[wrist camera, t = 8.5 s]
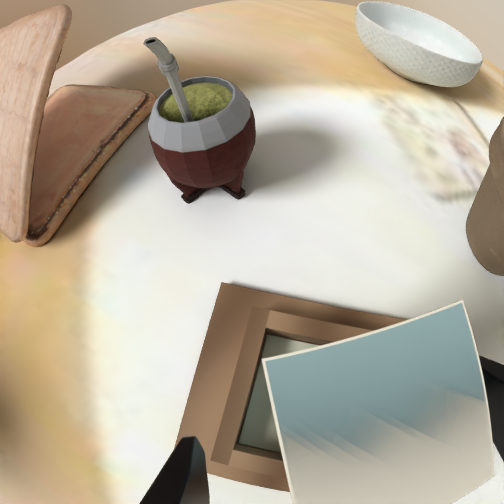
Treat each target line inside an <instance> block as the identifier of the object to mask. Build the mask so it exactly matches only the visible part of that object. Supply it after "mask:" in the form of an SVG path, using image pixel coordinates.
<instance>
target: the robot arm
mask: <svg viewBox="0 0 504 504" xmlns="http://www.w3.org/2000/svg"><path fill="white" fill-rule="evenodd" d="M479 359H480V364H481V368H482V373H483V378H484V383H485V389H486V394H487V400H488V407H489V414H490V422H491V431H492V441H493V443H494V444H495V446H496V448H497V450H498V452H499V454H500V456H501V458H502V459H503V461H504V365H503V364H500V363H497V362H495V361H492V360H489V359H487V358H484V357H482V356H479ZM209 503H210V501H209V487H208V478H207V469H206V459H205V452H204V449H203V447H202V446H201V444H200V442H199V440H198V439H197V437H196V436H184V437H182V438H181V439H180V441H179V442H178V444H177V445H176V447H175V449H174V450H173V452H172V454H171V455H170V457H169V458H168V460H167V462H166V463H165V465H164V466H163V468H162V469H161V471H160V473H159V474H158V476H157V477H156V479H155V480H154V482H153V484H152V485H151V487H150V488H149V490H148V491H147V493H146V494H145V496H144V497H143V499H142V501H141V502H140V504H209Z"/></svg>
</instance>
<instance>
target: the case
mask: <svg viewBox="0 0 504 504" xmlns="http://www.w3.org/2000/svg"><path fill="white" fill-rule="evenodd" d="M71 19H72V12H71V9H70V8H69V6H67V5H63V4H62V5H57V6H53V7H50V8H48V9H45V10H42V11H40V12H37V13H34V14H30V15H28V16H25V17H23V18H21V19H18V20H16V21H15V22H13V23H11V24H9V25H7V26H5V27H3V28H1V29H0V230H1V231H2V232H3V233H4V234H5V235H6V236H7V237H8V238H9V239H10V240H11V241H13V242H16V243H17V242H21V241H22V240H23V241H24V242H26V243H27V244H28V245H30V246H34V247H37V246H41V245H43V244H44V243H46V242H47V241H48V240H50V238H51V237H52V236H53V235H54V233H55V232H56V231H57V229H58V228H59V226H60V225H61V223H62V222H63V220H64V219H65V217H66V216H67V214H68V213H69V211H70V210H71V208H72V207H73V205H74V204H75V203H76V201H77V200H78V198H79V197H80V195H81V194H82V192H83V191H84V190H85V189H86V188H87V186H88V185H89V183H90V182H91V181H92V179H93V178H94V177H95V175H96V174H97V173H98V172H99V170H100V169H101V168H102V166H103V165H104V164H105V163H106V161H107V160H108V159H109V158H110V157H111V155H112V154H113V153H114V152H115V151H116V150H117V148H118V147H119V146H120V145H121V144H122V143H123V142H124V140H125V139H126V138H127V137H128V136H129V135H130V134H131V133H132V132H133V130H134V129H135V128H136V127H137V126H138V125H139V124H140V123H141V122H142V121H143V120H144V119H145V118H146V117H147V116H148V115H149V114H150V113H151V112H152V108H153V106H154V103H155V101H156V100H157V99H156V96H155V95H154V94H153V93H151V92H148V91H142V90H134V89H123V88H114V87H105V86H90V85H75V84H72V85H66V86H63V87H61V88H59V89H58V90H56V91H55V92H54V93H53V94H52V95H51V96H50V97H48V94H49V88H50V85H51V81H52V78H53V75H54V71H55V68H56V64H57V62H58V60H59V57H60V53H61V50H62V47H63V43H64V40H65V38H66V35H67V33H68V30H69V27H70V24H71ZM47 97H48V98H47Z"/></svg>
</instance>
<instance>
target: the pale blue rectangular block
mask: <svg viewBox="0 0 504 504" xmlns="http://www.w3.org/2000/svg"><path fill="white" fill-rule="evenodd" d="M262 363H263V368H264V373H265V378H266V383H267V387H268V392H269V397H270V402H271V406H272V411H273V416H274V420H275V425H276V430H277V434H278V439H279V444H280V448H281V453H282V457H283V462H284V466H285V471H286V476H287V480H288V485H289V489H290V494H291V498H292V502H293V504H452V503H453V502H455V501H457V500H459V499H460V498H462V497H464V496H465V495H467V494H468V493H470V492H472V491H473V490H475V489H476V488H478V487H479V486H481V485H482V484H484V483H485V482H487V481H488V480H490V479H491V478H492V477H494V455H493V441H492V431H491V422H490V414H489V407H488V400H487V394H486V389H485V383H484V378H483V373H482V368H481V364H480V359H479V355H478V351H477V347H476V343H475V339H474V335H473V332H472V328H471V325H470V321H469V318H468V315H467V311H466V308H465V305H464V302H463V300H460V301H458V302H455V303H453V304H450V305H448V306H445V307H442V308H440V309H437V310H434V311H432V312H429V313H426V314H423V315H421V316H418V317H415V318H412V319H409V320H406V321H403V322H400V323H397V324H394V325H391V326H388V327H385V328H381V329H378V330H375V331H372V332H368V333H365V334H361V335H358V336H354V337H351V338H347V339H344V340H340V341H336V342H333V343H329V344H325V345H321V346H317V347H313V348H309V349H305V350H301V351H296V352H292V353H288V354H283V355H278V356H274V357H269V358H264V359H262Z"/></svg>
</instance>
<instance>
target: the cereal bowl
mask: <svg viewBox="0 0 504 504" xmlns="http://www.w3.org/2000/svg"><path fill="white" fill-rule="evenodd" d="M355 21H356V22H355V25H356V31H357V34H358V37H359V38H360V40H361V42H362V44H363V45H364V46H365V48H367V50H368V51H369V52H370V53H371V54H372V55H374V57H376V58H377V59H378V60H380V61H381V62H383V63H384V64H385V65H386V66H387V67H388V68H389V69H391V70H392V71H393V72H395V73H397V74H398V75H400V76H402V77H404V78H406V79H409V80H411V81H414V82H417V83H422V84H431V85H435V86H442V87H458V86H461V85H465V84H466V83H468V82H469V81H471V80H472V79H473V78H474V77H475V75H476V74H477V72H478V71H479V69H480V67H481V65H482V62H483V56H482V54H481V52H480V51H479V49H478V48H477V47H476V46H475V45H474V43H472V42H471V41H470V40H469V39H468V38H467V37H466V36H464V35H463V34H462V33H460V32H459V31H457V30H456V29H454V28H453V27H451V26H449V25H448V24H446V23H444V22H442V21H441V20H439V19H436V18H434V17H432V16H430V15H428V14H425V13H423V12H420V11H417V10H414V9H411V8H408V7H405V6H401V5H397V4H393V3H387V2H379V1H367V2H362V3H360V4H359V5H358V6H357V9H356V18H355Z"/></svg>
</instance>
